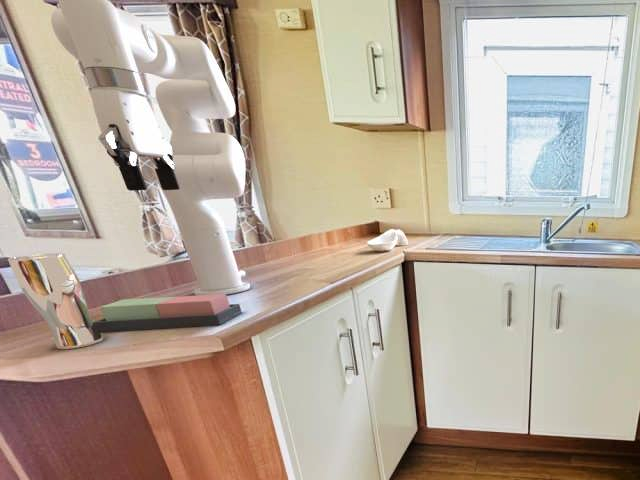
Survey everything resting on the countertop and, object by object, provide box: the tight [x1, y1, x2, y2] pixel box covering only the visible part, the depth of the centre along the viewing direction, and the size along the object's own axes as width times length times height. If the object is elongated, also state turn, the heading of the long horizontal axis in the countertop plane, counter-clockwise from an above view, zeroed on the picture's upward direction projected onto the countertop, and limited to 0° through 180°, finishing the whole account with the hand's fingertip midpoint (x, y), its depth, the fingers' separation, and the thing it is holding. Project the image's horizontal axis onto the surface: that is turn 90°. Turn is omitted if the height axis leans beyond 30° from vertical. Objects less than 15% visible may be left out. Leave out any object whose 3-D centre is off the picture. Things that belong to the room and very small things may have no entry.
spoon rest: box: [366, 229, 409, 253], centre depth 177 cm, size 24×12×7 cm, turn 167°
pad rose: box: [156, 294, 230, 318], centre depth 84 cm, size 6×10×4 cm, turn 95°
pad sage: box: [99, 296, 174, 321], centre depth 84 cm, size 6×10×4 cm, turn 95°
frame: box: [92, 303, 243, 333], centre depth 85 cm, size 9×23×2 cm, turn 95°
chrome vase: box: [7, 252, 104, 350], centre depth 71 cm, size 7×7×15 cm
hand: (155, 190), depth 83 cm, fingers open, 9 cm apart
